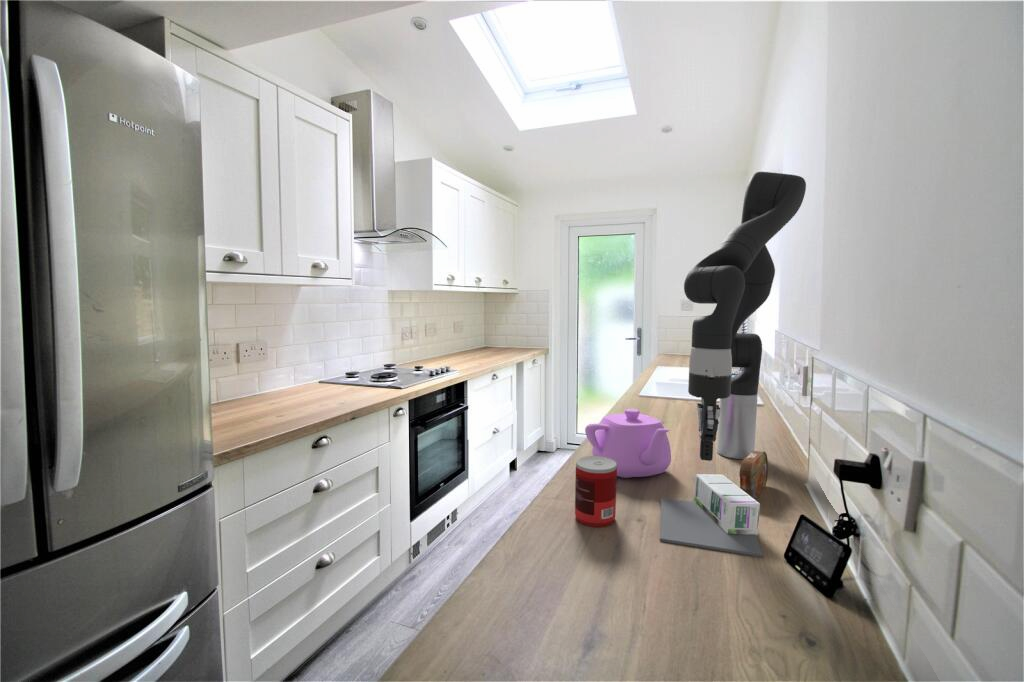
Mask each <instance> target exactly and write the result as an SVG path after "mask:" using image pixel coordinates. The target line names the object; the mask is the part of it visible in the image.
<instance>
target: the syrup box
mask: <svg viewBox="0 0 1024 682" xmlns="http://www.w3.org/2000/svg"><path fill="white" fill-rule="evenodd" d="M694 502H697V503H698V504H699V505H700V506H701V507H702V508H703V509H704V510H705V511H706V513H707V514H708V515H709V516H710V517H711V518H712V519H713V520H714V521H715V522H716V523H717V524H718V525H719V526H720V527H721V528H722V529H723V530H724V531H725V532H726V533H727V534H741V535H745V534H746V535H747V534H748V535H749V534H755V535H759V534H758V532H759V522H760V509H761V503H760V502H758V501H757V499H756V500H755V499H753V498H752V497H751V496H749V495H748V494H747V493H746V492H744V491H743V490H742V489H740V486H738V485H736V483H734V482H733V481H731V480H730V479H729V478H728V477H726V476H725V475H724V474H717V473H716V474H711V473H710V474H709V473H708V474H707V473H706V474H705V473H703V474H701V473H697V474H695V485H694Z"/></svg>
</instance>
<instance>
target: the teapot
mask: <svg viewBox="0 0 1024 682" xmlns="http://www.w3.org/2000/svg"><path fill="white" fill-rule="evenodd" d="M623 411H624V413H613V414H608V415H607V414H606V415H604V416H603V417H602V418H601V420H600V423H590V424H587V425H586V426H585V429H584V432H585V435H586V438H587V440H588V442H589V443H590V444H591V446H592V451H591V452H592V456H600V457H606V458H609V459H612V460H614V461H615V462H616V464H617V477H621V478H622V479H623V478H624V479H631V478H640V477H641V478H642V477H651V476H656V475H660V474H662V473H665V472H666V471H667V470H668V468H669V467H670V465H671V462H672V451H671V446H670V441H669V438H668V434H667V433H669V432H670V431H671V429H669V428H665V426H664V425H663V423H662V421H661V420H660V419H658V418H656V417H653V416H650V415H647V414H643V413H641V411H640V410H639V409H636V408H627V409H624V410H623Z"/></svg>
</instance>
